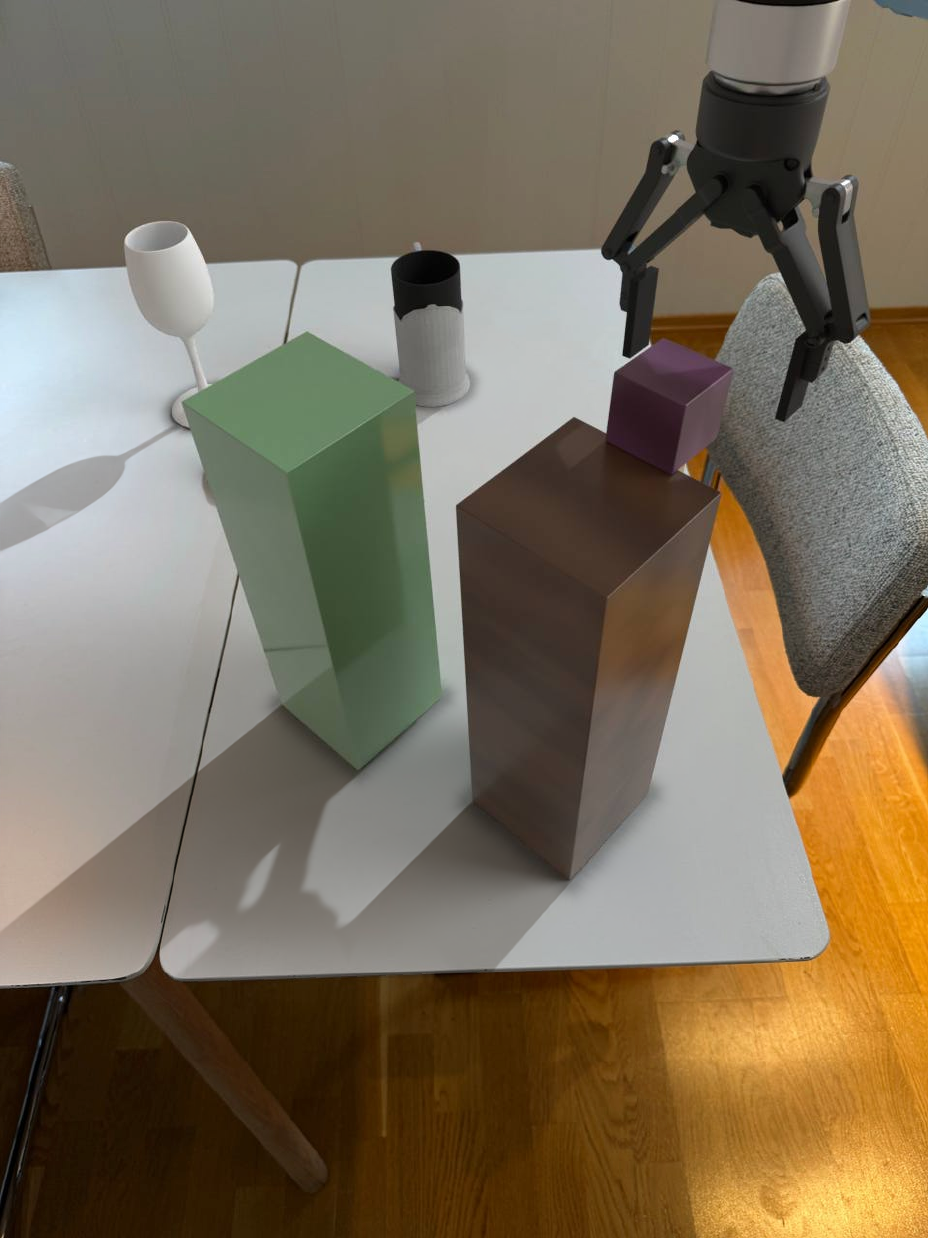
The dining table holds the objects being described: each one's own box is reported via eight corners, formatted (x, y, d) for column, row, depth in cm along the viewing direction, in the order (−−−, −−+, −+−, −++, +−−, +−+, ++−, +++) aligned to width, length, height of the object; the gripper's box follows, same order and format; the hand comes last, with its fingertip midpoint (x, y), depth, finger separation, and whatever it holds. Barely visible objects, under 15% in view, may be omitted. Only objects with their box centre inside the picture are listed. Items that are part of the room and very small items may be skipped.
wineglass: (189, 382, 110) (135, 213, 94) (256, 388, 109) (213, 218, 93) (160, 426, 105) (97, 254, 89) (229, 433, 103) (179, 260, 87)
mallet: (685, 405, 45) (734, 367, 47) (613, 371, 47) (663, 336, 49) (643, 612, 57) (684, 574, 59) (586, 577, 59) (628, 542, 61)
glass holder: (402, 411, 105) (389, 292, 94) (388, 343, 114) (375, 228, 103) (475, 401, 106) (472, 282, 94) (456, 335, 115) (451, 220, 103)
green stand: (358, 771, 74) (286, 473, 50) (281, 704, 79) (180, 401, 54) (442, 697, 79) (414, 390, 54) (365, 638, 83) (306, 330, 59)
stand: (569, 881, 67) (606, 598, 43) (471, 801, 72) (455, 504, 47) (648, 793, 72) (722, 492, 47) (551, 723, 76) (573, 415, 52)
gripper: (1003, 97, 50) (884, 417, 66) (631, 23, 62) (605, 309, 77) (948, 138, 46) (836, 466, 62) (564, 51, 58) (551, 346, 74)
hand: (708, 380), depth 70 cm, fingers open, 13 cm apart
